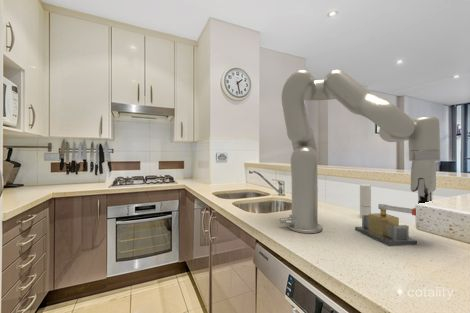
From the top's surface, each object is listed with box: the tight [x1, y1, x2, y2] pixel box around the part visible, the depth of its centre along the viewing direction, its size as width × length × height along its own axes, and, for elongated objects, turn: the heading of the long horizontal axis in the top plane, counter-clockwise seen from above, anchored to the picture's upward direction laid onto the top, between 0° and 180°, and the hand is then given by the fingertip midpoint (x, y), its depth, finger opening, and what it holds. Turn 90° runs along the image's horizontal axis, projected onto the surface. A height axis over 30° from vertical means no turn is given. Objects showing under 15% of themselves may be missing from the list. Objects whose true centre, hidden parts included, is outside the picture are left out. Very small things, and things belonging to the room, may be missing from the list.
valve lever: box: [378, 203, 417, 217], centre depth 70 cm, size 14×3×2 cm, turn 39°
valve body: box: [354, 209, 418, 247], centre depth 74 cm, size 10×15×9 cm, turn 8°
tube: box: [359, 183, 372, 219], centre depth 98 cm, size 4×4×15 cm
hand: (425, 214), depth 68 cm, fingers closed
